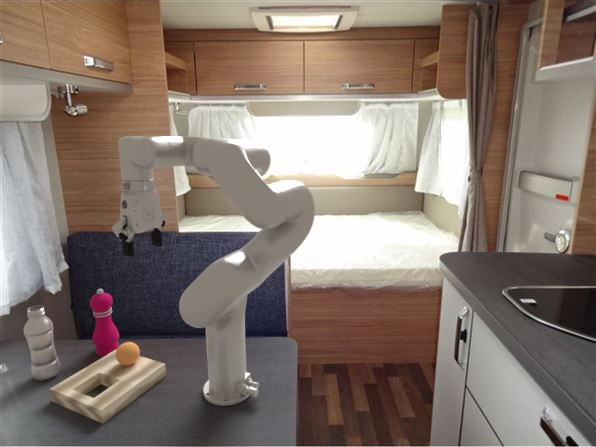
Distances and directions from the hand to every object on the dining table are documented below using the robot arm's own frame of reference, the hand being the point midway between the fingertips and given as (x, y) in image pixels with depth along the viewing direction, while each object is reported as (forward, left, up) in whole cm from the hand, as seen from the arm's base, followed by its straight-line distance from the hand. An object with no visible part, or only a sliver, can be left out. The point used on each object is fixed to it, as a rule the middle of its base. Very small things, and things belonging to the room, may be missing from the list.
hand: (143, 250), depth 104 cm
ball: (+3, +6, -28) cm, 28 cm away
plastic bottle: (+23, +16, -34) cm, 44 cm away
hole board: (+3, +12, -34) cm, 36 cm away
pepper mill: (+19, 0, -34) cm, 39 cm away
